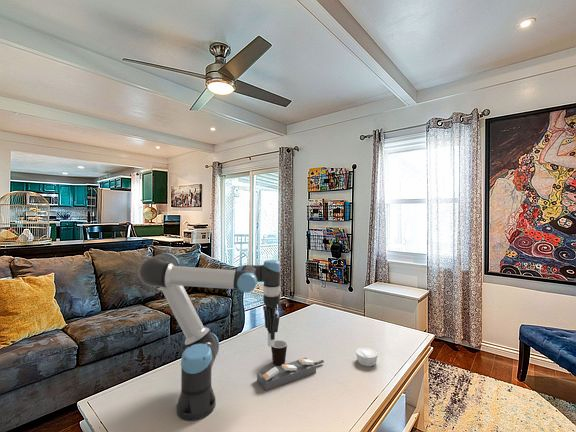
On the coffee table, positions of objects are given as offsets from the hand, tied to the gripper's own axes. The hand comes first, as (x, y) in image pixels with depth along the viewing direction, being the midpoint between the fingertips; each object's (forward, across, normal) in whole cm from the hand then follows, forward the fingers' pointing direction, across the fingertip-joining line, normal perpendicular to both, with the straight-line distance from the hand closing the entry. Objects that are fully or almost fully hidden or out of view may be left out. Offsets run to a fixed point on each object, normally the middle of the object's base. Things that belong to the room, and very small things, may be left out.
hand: (271, 345), depth 131 cm
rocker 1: (+13, 0, 0) cm, 13 cm away
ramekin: (+19, -8, -54) cm, 57 cm away
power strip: (+18, +2, -14) cm, 23 cm away
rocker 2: (+13, 0, -10) cm, 16 cm away
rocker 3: (+13, 0, -20) cm, 24 cm away
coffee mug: (+19, +16, -14) cm, 28 cm away
